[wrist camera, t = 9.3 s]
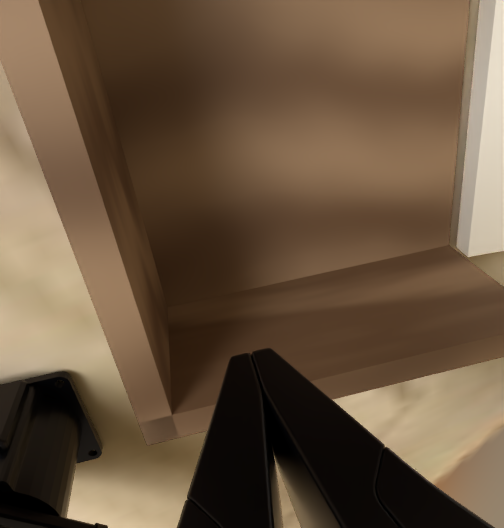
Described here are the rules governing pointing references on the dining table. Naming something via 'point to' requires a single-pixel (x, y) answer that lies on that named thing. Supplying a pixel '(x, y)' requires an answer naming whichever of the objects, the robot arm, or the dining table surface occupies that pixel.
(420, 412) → the dining table surface
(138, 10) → the crate
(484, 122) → the tailgate
